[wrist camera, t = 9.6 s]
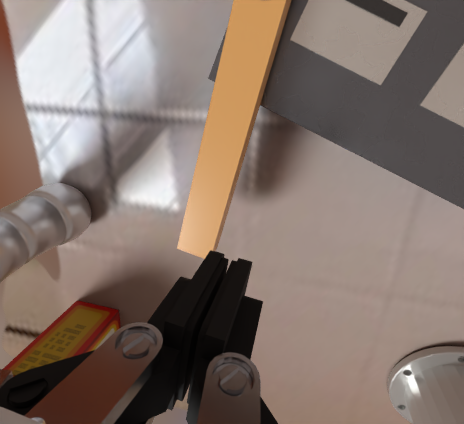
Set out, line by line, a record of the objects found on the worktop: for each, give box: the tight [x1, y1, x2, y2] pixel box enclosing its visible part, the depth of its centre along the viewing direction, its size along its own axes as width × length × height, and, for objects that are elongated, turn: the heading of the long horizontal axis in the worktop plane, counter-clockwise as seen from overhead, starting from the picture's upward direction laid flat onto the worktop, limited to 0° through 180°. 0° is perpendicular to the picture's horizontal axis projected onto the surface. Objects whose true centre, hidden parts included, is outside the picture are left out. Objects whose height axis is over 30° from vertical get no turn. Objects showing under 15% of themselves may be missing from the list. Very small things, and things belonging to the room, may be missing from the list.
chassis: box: [208, 0, 464, 209], centre depth 21 cm, size 24×14×5 cm, turn 65°
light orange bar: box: [177, 0, 291, 259], centre depth 21 cm, size 22×3×2 cm, turn 164°
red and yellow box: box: [3, 301, 121, 375], centre depth 35 cm, size 10×6×16 cm
